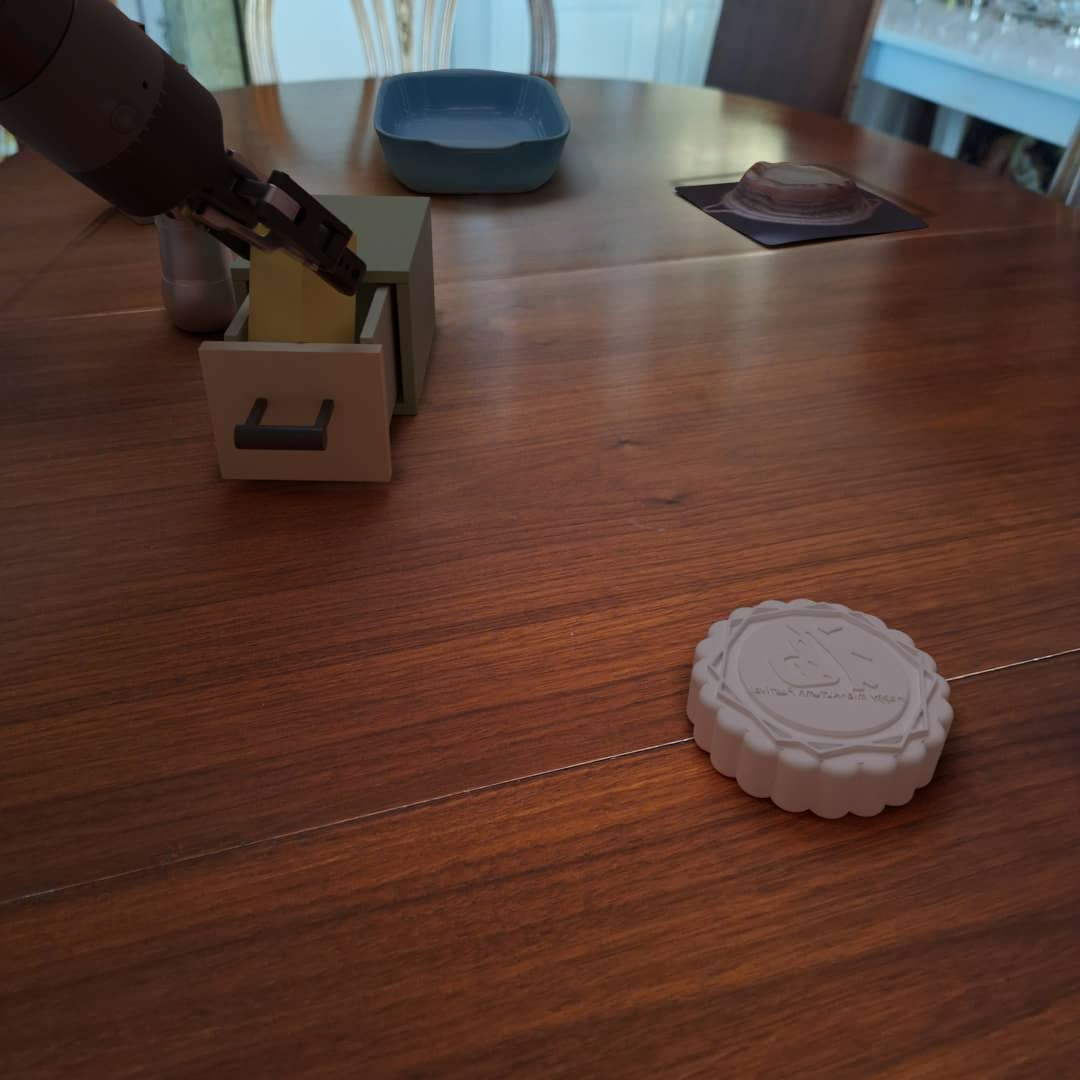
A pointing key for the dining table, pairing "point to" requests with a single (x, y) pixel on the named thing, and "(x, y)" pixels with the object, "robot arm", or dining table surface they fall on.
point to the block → (296, 301)
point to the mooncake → (818, 707)
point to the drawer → (307, 398)
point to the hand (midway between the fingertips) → (306, 264)
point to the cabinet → (387, 273)
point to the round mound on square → (798, 204)
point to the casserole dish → (470, 130)
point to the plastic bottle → (195, 276)
